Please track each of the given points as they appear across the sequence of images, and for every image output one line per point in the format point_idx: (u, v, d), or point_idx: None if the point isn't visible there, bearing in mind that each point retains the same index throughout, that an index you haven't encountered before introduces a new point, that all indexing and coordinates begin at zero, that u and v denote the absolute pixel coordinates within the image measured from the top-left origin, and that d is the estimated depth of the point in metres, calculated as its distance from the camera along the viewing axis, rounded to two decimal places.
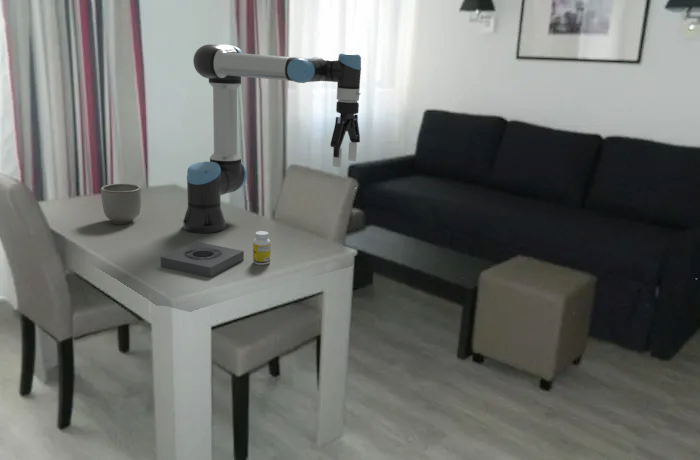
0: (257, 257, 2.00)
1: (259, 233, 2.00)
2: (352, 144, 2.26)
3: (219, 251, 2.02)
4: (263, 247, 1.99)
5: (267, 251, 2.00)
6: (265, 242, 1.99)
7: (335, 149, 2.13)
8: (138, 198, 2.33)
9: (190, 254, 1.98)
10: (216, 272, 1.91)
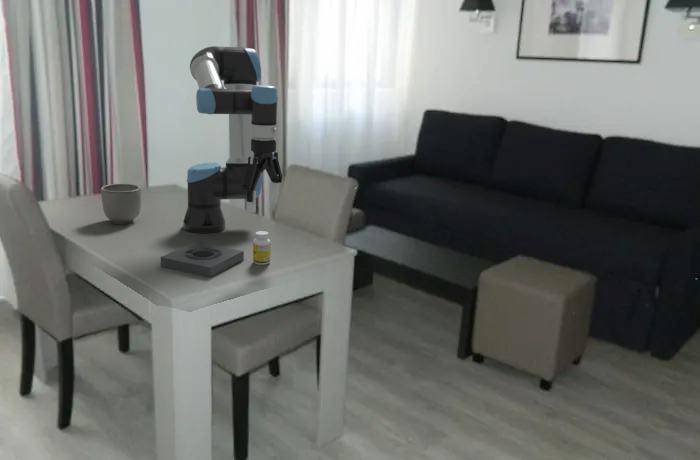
0: (257, 257, 2.00)
1: (259, 233, 2.00)
2: (273, 185, 2.02)
3: (219, 251, 2.02)
4: (263, 247, 1.99)
5: (267, 251, 2.00)
6: (265, 242, 1.99)
7: (248, 193, 1.89)
8: (138, 198, 2.33)
9: (190, 254, 1.98)
10: (216, 272, 1.91)
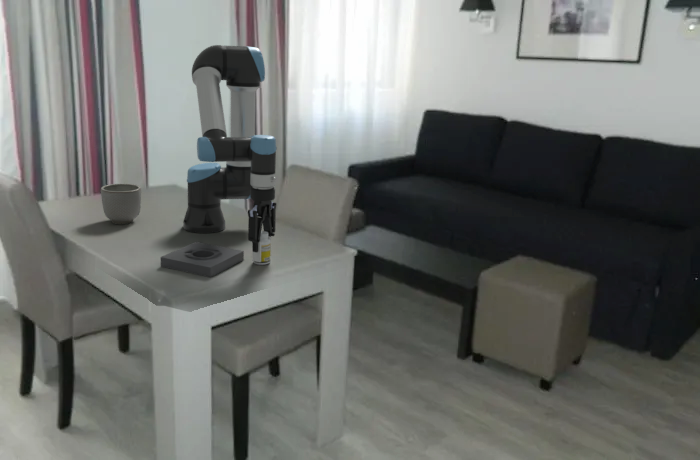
0: None
1: None
2: None
3: (219, 251, 2.02)
4: (263, 247, 1.99)
5: (267, 251, 2.00)
6: (265, 242, 1.99)
7: (254, 244, 1.97)
8: (138, 198, 2.33)
9: (190, 254, 1.98)
10: (216, 272, 1.91)
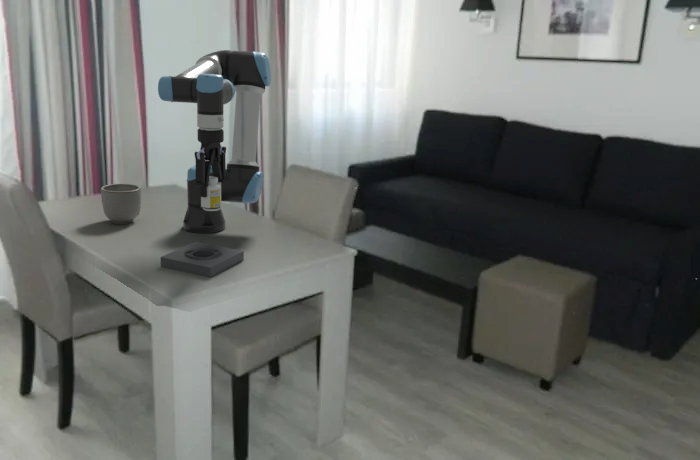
0: None
1: None
2: None
3: (219, 251, 2.02)
4: (212, 192, 1.91)
5: (217, 196, 1.92)
6: (214, 187, 1.91)
7: (202, 188, 1.89)
8: (138, 198, 2.33)
9: (190, 254, 1.98)
10: (216, 272, 1.91)
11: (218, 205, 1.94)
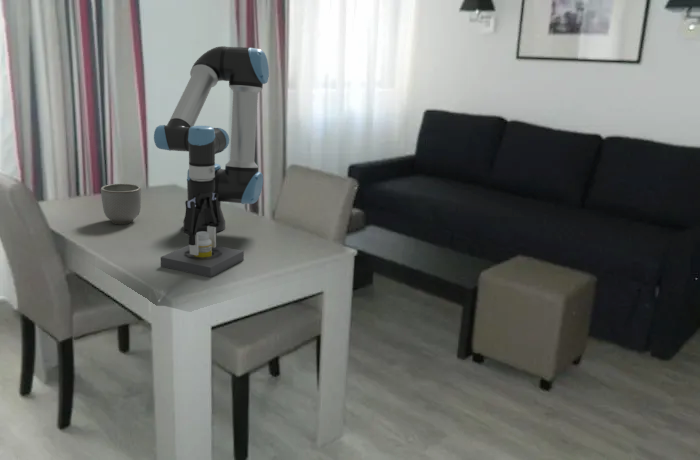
0: None
1: (199, 233, 1.96)
2: (210, 229, 2.00)
3: (219, 251, 2.02)
4: (203, 248, 1.95)
5: (208, 252, 1.97)
6: (205, 243, 1.95)
7: (190, 236, 1.91)
8: (138, 198, 2.33)
9: (190, 254, 1.98)
10: (216, 272, 1.91)
11: None
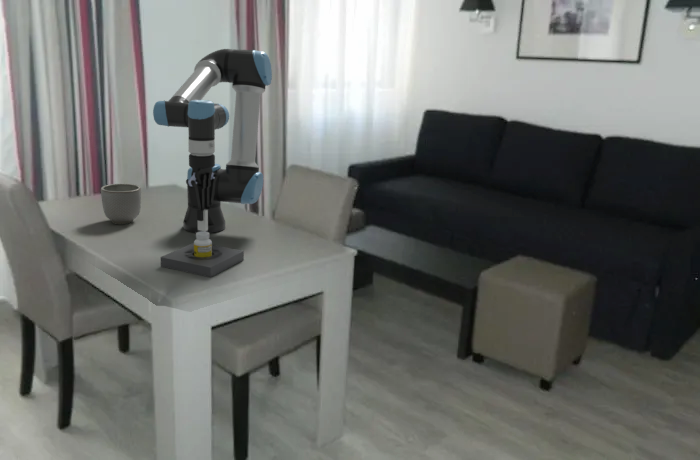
0: None
1: (199, 233, 1.96)
2: None
3: (219, 251, 2.02)
4: (203, 247, 1.95)
5: (208, 251, 1.97)
6: (205, 243, 1.95)
7: (198, 212, 1.93)
8: (138, 198, 2.33)
9: (190, 254, 1.98)
10: (216, 272, 1.91)
11: None
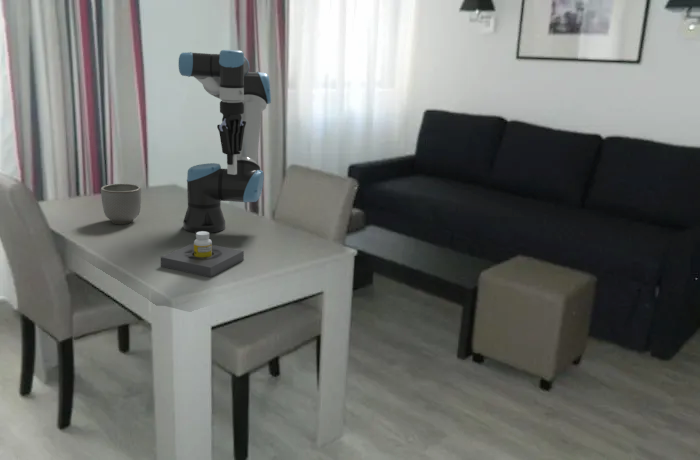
0: None
1: (199, 233, 1.96)
2: None
3: (219, 251, 2.02)
4: (203, 247, 1.95)
5: (208, 251, 1.97)
6: (205, 243, 1.95)
7: (228, 156, 2.07)
8: (138, 198, 2.33)
9: (190, 254, 1.98)
10: (216, 272, 1.91)
11: None
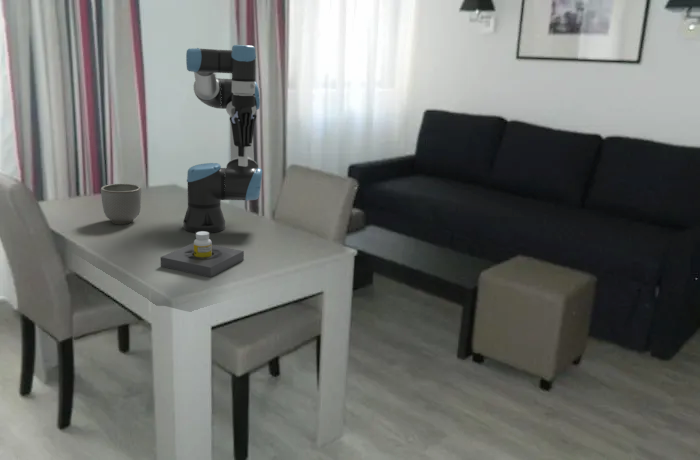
0: None
1: (199, 233, 1.96)
2: None
3: (219, 251, 2.02)
4: (203, 247, 1.95)
5: (208, 251, 1.97)
6: (205, 243, 1.95)
7: (239, 148, 2.13)
8: (138, 198, 2.33)
9: (190, 254, 1.98)
10: (216, 272, 1.91)
11: None
